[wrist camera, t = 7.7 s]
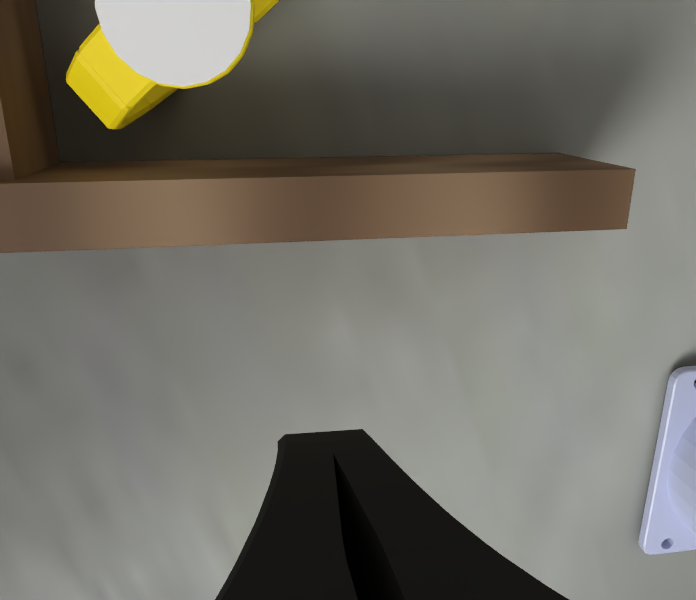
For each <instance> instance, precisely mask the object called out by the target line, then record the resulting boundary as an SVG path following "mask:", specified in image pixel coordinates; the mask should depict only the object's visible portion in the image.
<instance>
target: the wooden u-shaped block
mask: <svg viewBox="0 0 696 600" xmlns="http://www.w3.org/2000/svg"><path fill="white" fill-rule="evenodd" d="M634 176H635V169H633V168H628V167H623V166H618V165H613V164H609V163H604V162H599V161H594V160H589V159H585V158H580V157H575V156H570V155H565V154H561V153H535V154H482V155H428V156H374V157H320V158H266V159H212V160H158V161H104V162H60V160H59V153H58V147H57V140H56V133H55V127H54V120H53V114H52V107H51V100H50V94H49V87H48V81H47V74H46V67H45V61H44V54H43V48H42V41H41V34H40V28H39V21H38V15H37V8H36V2H35V0H0V253H12V252H39V251H65V250H91V249H117V248H143V247H169V246H195V245H221V244H247V243H273V242H299V241H325V240H351V239H377V238H404V237H430V236H456V235H482V234H508V233H534V232H560V231H586V230H612V229H627V223H628V216H629V209H630V203H631V196H632V189H633V183H634Z"/></svg>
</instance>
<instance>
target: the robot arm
mask: <svg viewBox="0 0 696 600" xmlns="http://www.w3.org/2000/svg"><path fill="white" fill-rule="evenodd" d="M695 379H696V366H685V367H680V368H678V369H676V370H675V371H673V373H672V374H671V375H670V378H669V380H668V385H667V391H666V396H665V402H664V407H663V412H662V418H661V423H660V428H659V434H658V439H657V445H656V450H655V455H654V461H653V466H652V472H651V477H650V482H649V488H648V493H647V498H646V504H645V509H644V515H643V520H642V525H641V531H640V536H639V545H640V547H641V548H642V549H643V551H644V552H645V553H647V554H651V555H654V554H662V553H670V552H678V551H687V550H695V549H696V383H694V381H695ZM215 600H569V599H567V598H565V597H564V596H562V595H561V594H559V593H557V592H556V591H554V590H552V589H551V588H549V587H548V586H546V585H545V584H543V583H542V582H540V581H539V580H537V579H536V578H534V577H533V576H531V575H530V574H528V573H527V572H525V571H524V570H523V569H521V568H520V567H518V566H517V565H515V564H514V563H512V562H511V561H509V560H508V559H506V558H505V557H503V556H502V555H501V554H499V553H498V552H497V551H495V550H494V549H493V548H491V547H490V546H489V545H487V544H486V543H485V542H483V541H482V540H481V539H480V538H478V537H477V536H476V535H475V534H473V533H472V532H471V531H470V530H468V529H467V528H466V527H465V526H464V525H462V524H461V523H460V522H459V521H457V520H456V519H455V518H454V517H452V516H451V515H450V514H449V513H448V512H447V511H445V510H444V509H443V508H442V507H441V506H440V505H439V504H438V503H437V502H436V501H435V500H433V499H432V498H431V497H430V496H429V495H428V494H427V493H426V492H425V491H424V490H423V489H422V488H420V487H419V486H418V485H417V484H416V483H415V482H414V481H413V480H412V479H411V478H410V477H409V476H408V475H407V474H406V473H405V472H404V471H403V470H402V469H401V468H400V467H399V466H398V465H397V464H396V463H395V462H394V461H393V460H392V459H391V458H390V457H389V456H388V455H387V454H386V453H385V452H384V451H383V449H382V448H381V447H380V446H379V445H378V444H377V443H376V442H375V441H374V440H373V439H372V438H371V437H370V436H369V435H368V434H367V433H366V432H365V431H364V430H363V429H358V430H344V431H329V432H315V433H300V434H285V435H284V436H283V437H282V438H281V439H280V440H279V441H278V453H277V460H276V464H275V468H274V472H273V475H272V479H271V482H270V485H269V488H268V491H267V493H266V496H265V499H264V501H263V504H262V506H261V509H260V512H259V514H258V517H257V519H256V522H255V524H254V526H253V528H252V530H251V532H250V534H249V536H248V539H247V541H246V543H245V545H244V547H243V549H242V551H241V553H240V555H239V557H238V559H237V561H236V563H235V565H234V567H233V569H232V571H231V573H230V574H229V576H228V578H227V580H226V582H225V584H224V585H223V587H222V589H221V591H220V592H219V594H218V596H217V597H216V599H215Z"/></svg>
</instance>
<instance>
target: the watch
mask: <svg viewBox="0 0 696 600" xmlns="http://www.w3.org/2000/svg"><path fill="white" fill-rule="evenodd" d="M279 1H280V0H95V9H96V12H97V16H98V19H99V22H100V23H99V24H98V25H97V27H96V28H95V29H94V30H93V31H92V32H91V34H90V35H89V36H88V37H87V38H86V40H85V41H84V42H83V43H82V44H81V45H80V47H79V50H78V51H76V53H75V55H74V57H73V60H72V62H71V64H70V66H69V69H68V71H67V73H66V83H67V84H68V85H69V86H70V87H71V88H72V89H73V90H74V91H75V92H76V94H77V95H78V96H79V97H80V98H81V99H82V100H83V101H84V102H85V103H86V105H87V106H88V107H89V108H90V109H91V110H92V111H93V112H94V113H95V114H96V116H97V117H98V118H99V119H100V120H101V121H102V122H103V123H104V124H105V125H106V127H107V128H108V129H122V128H124V127H126V126H127V125H129V124H130V123H132V122H133V121H135V120H136V119H138V118H140V117H141V116H143V115H144V114H146V113H147V112H148V111H150V110H151V109H152V108H154V107H155V106H156V105H158V104H159V103H160V102H162V101H163V100H164V99H166V98H167V97H168V96H169V95H171V94H172V93H173V92H175V91H176V90H177V89H179V88H181V89H188V88H193V87H198V86H203V85H208V84H211V83H213V82H215V81H216V80H218V79H220V78H222V77H223V76H225V75H227V74H228V73H229V72H231V70H232V69H233V68H234V67H235V66H236V65H237V63H238V62H239V61H240V60H241V59H242V57H243V56H244V54H245V52H246V50H247V47H248V45H249V42H250V40H251V37H252V34H253V28H254V24H255V23H256V22H257V21H258V20H260V19H261V18H262V17H263V16H264V15H265V14H266V13H267V12H268V11H269V10H270V9H271V8H272V7H273V6H274V5H275V4H276V3H278V2H279Z"/></svg>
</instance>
